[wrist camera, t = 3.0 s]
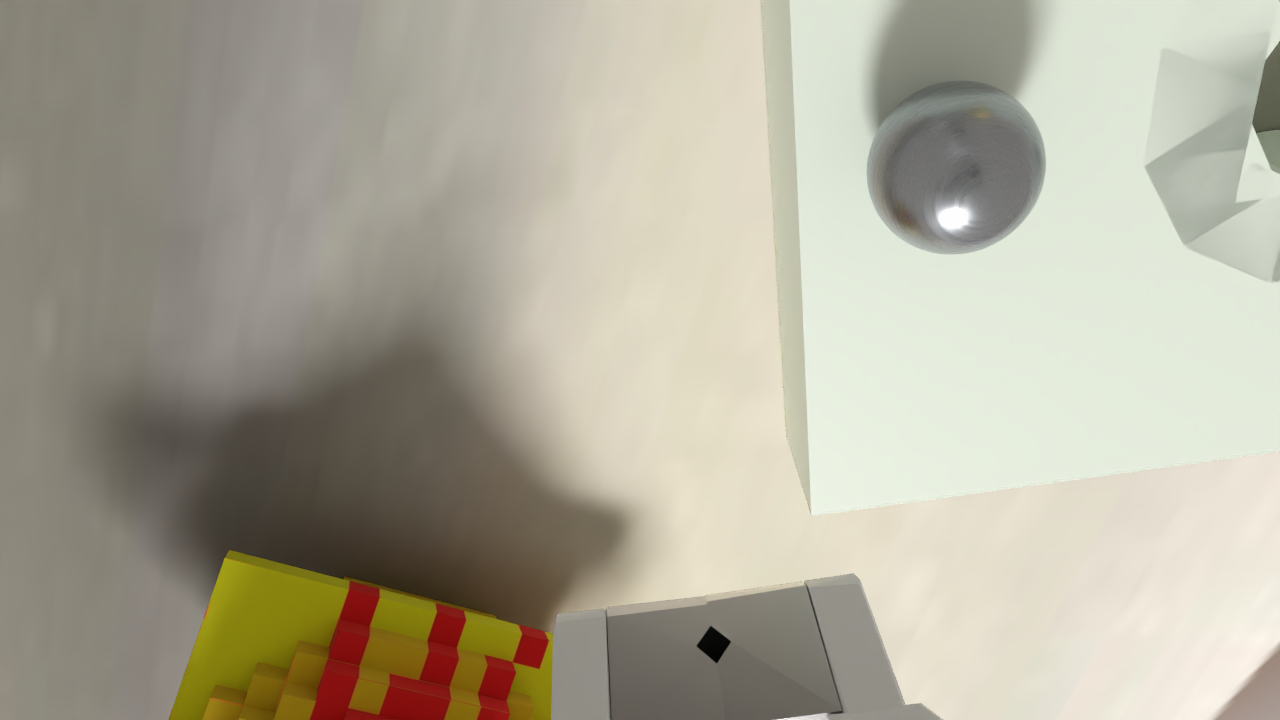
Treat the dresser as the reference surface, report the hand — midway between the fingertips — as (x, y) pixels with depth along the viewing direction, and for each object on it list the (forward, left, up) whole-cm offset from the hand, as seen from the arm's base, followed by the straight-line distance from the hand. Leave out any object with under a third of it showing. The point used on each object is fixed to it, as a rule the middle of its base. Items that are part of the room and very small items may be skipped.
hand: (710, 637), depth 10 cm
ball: (-1, +6, -9) cm, 11 cm away
